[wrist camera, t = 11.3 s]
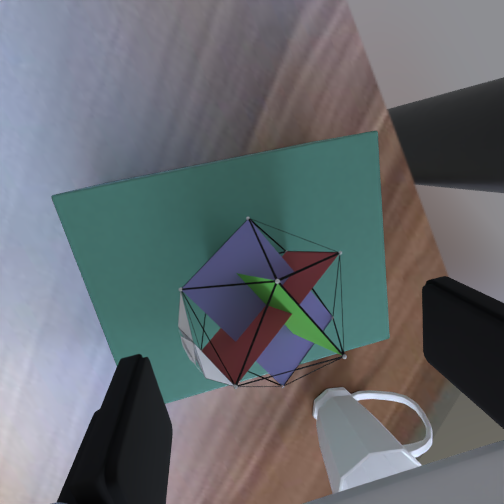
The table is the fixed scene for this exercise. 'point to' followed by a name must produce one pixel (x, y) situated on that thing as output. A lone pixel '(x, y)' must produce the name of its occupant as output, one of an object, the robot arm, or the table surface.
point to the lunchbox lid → (216, 234)
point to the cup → (362, 439)
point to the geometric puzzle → (258, 308)
